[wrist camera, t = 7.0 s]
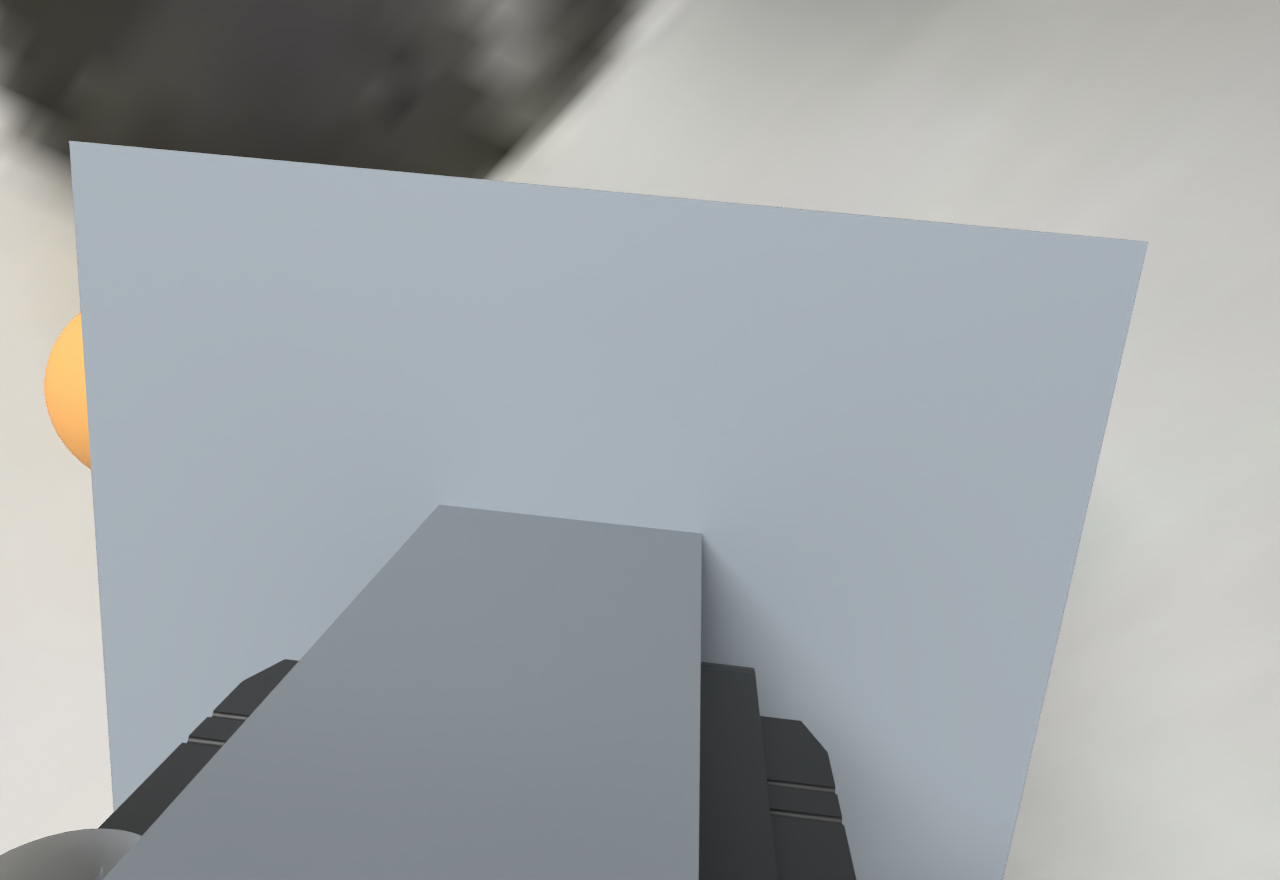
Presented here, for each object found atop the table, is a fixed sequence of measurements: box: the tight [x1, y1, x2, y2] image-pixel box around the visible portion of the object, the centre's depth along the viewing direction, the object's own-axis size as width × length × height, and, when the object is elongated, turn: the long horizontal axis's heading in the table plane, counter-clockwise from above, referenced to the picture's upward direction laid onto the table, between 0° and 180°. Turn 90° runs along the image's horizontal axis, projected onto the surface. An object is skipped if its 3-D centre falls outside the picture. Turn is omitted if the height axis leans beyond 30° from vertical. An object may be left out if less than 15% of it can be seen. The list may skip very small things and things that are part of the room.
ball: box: [44, 313, 91, 469], centre depth 22 cm, size 5×5×5 cm
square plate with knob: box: [69, 141, 1148, 880], centre depth 12 cm, size 11×11×15 cm
